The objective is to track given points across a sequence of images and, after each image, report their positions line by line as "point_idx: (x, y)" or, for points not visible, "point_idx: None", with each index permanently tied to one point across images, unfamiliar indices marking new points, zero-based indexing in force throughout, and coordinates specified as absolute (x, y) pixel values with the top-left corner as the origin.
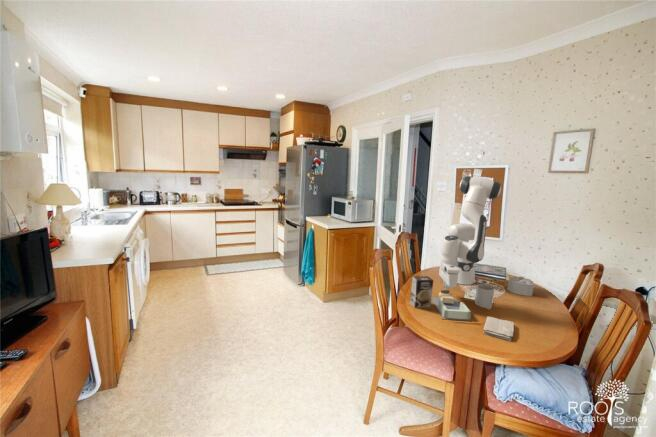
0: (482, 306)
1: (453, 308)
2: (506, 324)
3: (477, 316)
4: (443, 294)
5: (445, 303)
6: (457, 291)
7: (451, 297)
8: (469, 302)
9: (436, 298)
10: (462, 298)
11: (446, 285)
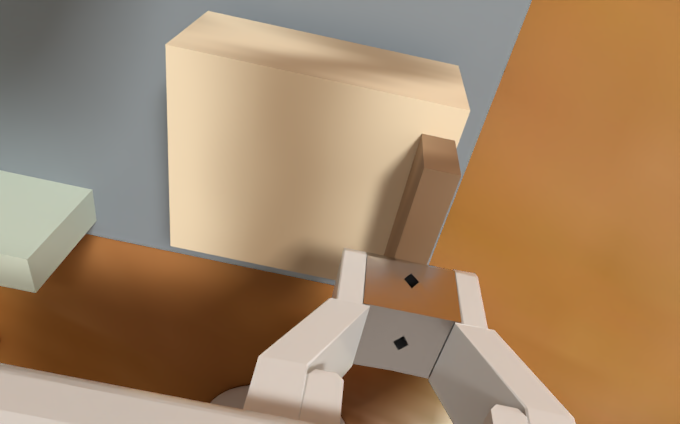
0: None
1: (96, 123)
2: None
3: None
4: (346, 148)
5: None
6: (662, 419)
7: (206, 224)
8: (357, 379)
9: (482, 22)
10: None
11: (276, 347)
